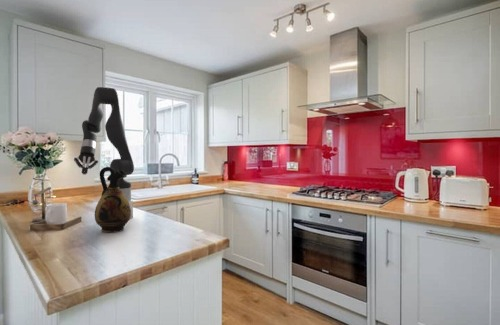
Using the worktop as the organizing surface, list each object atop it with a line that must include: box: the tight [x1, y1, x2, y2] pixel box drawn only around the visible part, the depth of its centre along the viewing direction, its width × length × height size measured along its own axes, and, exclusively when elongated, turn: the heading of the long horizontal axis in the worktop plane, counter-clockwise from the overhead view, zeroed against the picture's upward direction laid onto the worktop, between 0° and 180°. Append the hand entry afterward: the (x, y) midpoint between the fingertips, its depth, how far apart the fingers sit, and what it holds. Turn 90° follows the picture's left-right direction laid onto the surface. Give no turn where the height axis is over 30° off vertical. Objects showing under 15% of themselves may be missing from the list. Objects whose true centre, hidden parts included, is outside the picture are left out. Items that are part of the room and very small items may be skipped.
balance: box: [28, 186, 57, 223], centre depth 143 cm, size 6×16×17 cm, turn 3°
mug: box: [45, 202, 68, 224], centre depth 132 cm, size 12×8×10 cm
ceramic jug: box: [94, 166, 131, 234], centre depth 124 cm, size 17×15×30 cm
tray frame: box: [29, 216, 82, 231], centre depth 132 cm, size 15×15×2 cm
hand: (84, 174), depth 153 cm, fingers closed
